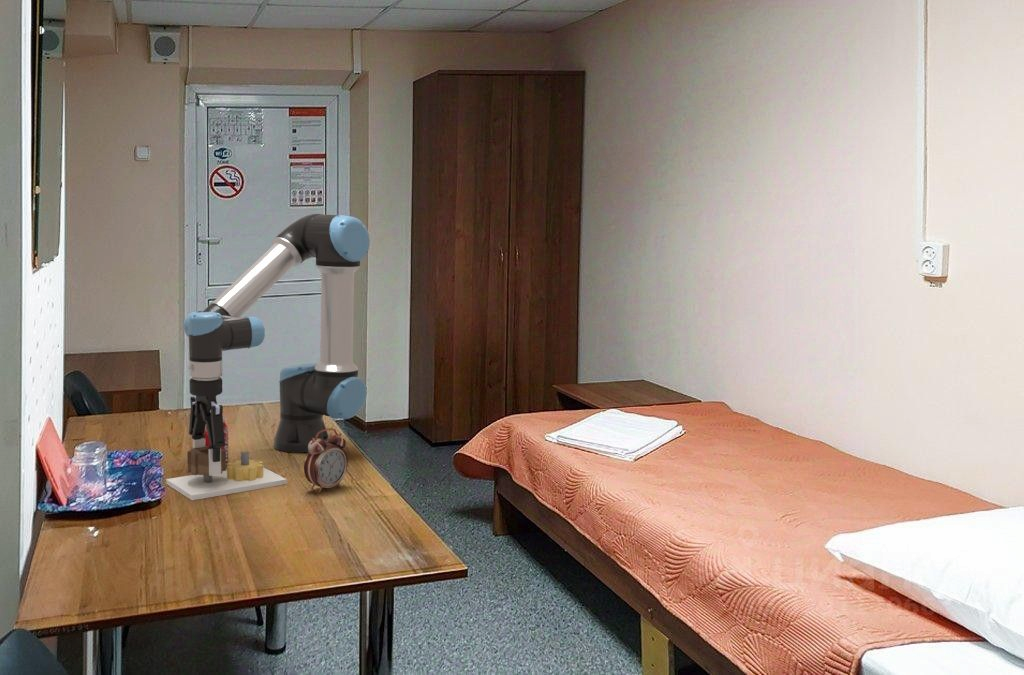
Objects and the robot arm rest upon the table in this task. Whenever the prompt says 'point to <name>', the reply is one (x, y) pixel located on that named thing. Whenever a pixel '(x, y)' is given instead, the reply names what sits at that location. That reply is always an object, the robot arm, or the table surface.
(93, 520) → the table surface
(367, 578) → the table surface
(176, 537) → the table surface
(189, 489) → the gear board
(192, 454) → the walnut gear
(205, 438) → the soda can
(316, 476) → the alarm clock
